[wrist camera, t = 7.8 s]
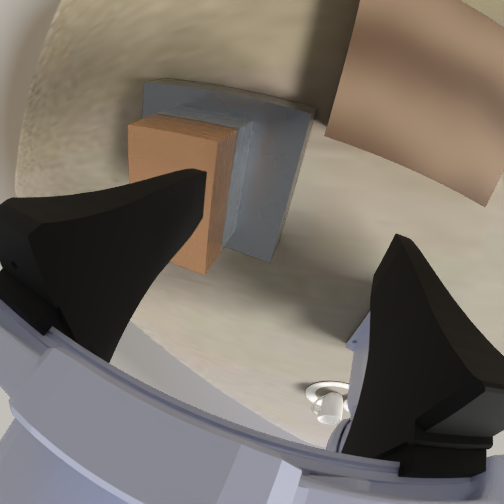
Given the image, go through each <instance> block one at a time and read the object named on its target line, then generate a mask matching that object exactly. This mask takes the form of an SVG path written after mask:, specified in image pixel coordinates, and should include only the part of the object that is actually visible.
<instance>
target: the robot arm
mask: <svg viewBox="0 0 504 504" xmlns="http://www.w3.org/2000/svg"><path fill="white" fill-rule="evenodd" d="M206 178H207V172H206V171H202V170H198V169H194V168H190V169H183V170H179V171H175V172H171V173H167V174H164V175H160V176H156V177H153V178H149V179H146V180H142V181H138V182H134V183H131V184H127V185H123V186H119V187H115V188H110V189H105V190H100V191H94V192H88V193H81V194H74V195H66V196H55V197H31V198H10V199H7V200H6V201H4V202H3V203H2V204H0V263H1V265H2V267H3V269H2V270H1V271H0V386H1V387H2V389H3V390H4V391H5V392H6V393H7V394H8V395H9V396H10V397H11V398H10V399H9V404H10V409H11V412H12V414H13V415H14V417H15V419H14V420H13V422H12V424H11V425H10V426H9V428H8V430H7V431H6V433H5V434H4V436H3V437H2V439H1V441H0V504H504V455H495V456H490V457H487V458H486V449H490V448H491V447H492V445H493V436H494V435H496V434H498V433H499V432H501V431H503V430H504V356H503V355H502V354H501V353H500V352H499V351H498V350H497V349H496V348H495V347H494V346H493V345H492V344H491V343H490V342H489V341H488V340H487V339H486V338H485V337H484V335H483V334H482V333H481V332H480V331H479V330H478V329H477V328H476V326H475V325H474V324H473V323H472V322H471V321H470V319H469V318H468V317H467V316H466V314H465V313H464V312H463V311H462V309H461V308H460V307H459V306H458V304H457V303H456V302H455V300H454V299H453V298H452V296H451V295H450V293H449V292H448V290H447V289H446V288H445V286H444V285H443V283H442V282H441V281H440V279H439V278H438V276H437V275H436V273H435V272H434V270H433V269H432V267H431V266H430V264H429V263H428V261H427V260H426V258H425V257H424V256H423V254H422V253H421V251H420V250H419V249H418V247H417V246H416V245H415V243H414V242H413V241H412V240H411V239H409V238H407V237H404V236H402V235H399V234H395V236H394V238H393V240H392V242H391V244H390V246H389V248H388V250H387V252H386V254H385V256H384V257H383V259H382V261H381V263H380V265H379V267H378V268H377V270H376V272H375V274H374V277H373V284H372V291H371V300H370V311H369V313H368V314H367V316H366V317H365V319H364V320H363V321H362V323H361V324H360V326H359V327H358V328H357V330H356V331H355V332H354V334H353V335H352V336H351V338H350V339H349V340H348V342H347V343H346V348H347V349H349V350H352V351H354V354H353V362H352V369H351V376H350V383H349V389H348V395H347V405H348V409H349V412H350V414H351V417H350V418H347V419H344V420H342V421H341V422H340V423H339V424H338V425H337V427H336V428H335V430H334V431H333V432H332V434H331V436H330V438H329V440H328V443H327V447H326V450H324V449H319V448H315V447H311V446H307V445H303V444H299V443H295V442H292V441H288V440H285V439H281V438H278V437H275V436H271V435H268V434H265V433H262V432H259V431H255V430H253V429H250V428H247V427H244V426H241V425H238V424H235V423H233V422H230V421H227V420H225V419H222V418H220V417H217V416H215V415H212V414H210V413H207V412H205V411H203V410H200V409H198V408H196V407H193V406H191V405H189V404H186V403H184V402H182V401H180V400H178V399H175V398H173V397H171V396H169V395H167V394H165V393H163V392H161V391H159V390H157V389H155V388H153V387H151V386H149V385H147V384H145V383H143V382H141V381H139V380H138V379H135V378H134V377H132V376H130V375H128V374H127V373H125V372H123V371H121V370H119V369H118V368H116V367H114V366H113V365H111V364H109V362H110V360H111V358H112V356H113V353H114V351H115V348H116V347H117V344H118V342H119V340H120V338H121V336H122V334H123V332H124V330H125V328H126V326H127V324H128V322H129V321H130V319H131V317H132V315H133V313H134V312H135V310H136V308H137V307H138V305H139V303H140V301H141V300H142V298H143V297H144V295H145V293H146V292H147V290H148V289H149V287H150V286H151V284H152V283H153V281H154V280H155V279H156V277H157V276H158V275H159V273H160V272H161V271H162V270H163V269H164V267H165V266H166V265H167V264H168V263H169V262H170V260H171V259H172V258H173V257H174V256H175V255H176V253H177V252H178V251H179V250H180V249H181V248H182V246H183V245H184V244H185V243H186V242H187V241H188V239H189V238H190V237H191V236H192V234H193V233H194V231H195V230H196V228H197V226H198V225H199V223H200V222H201V220H202V218H203V212H204V200H205V189H206Z"/></svg>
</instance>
